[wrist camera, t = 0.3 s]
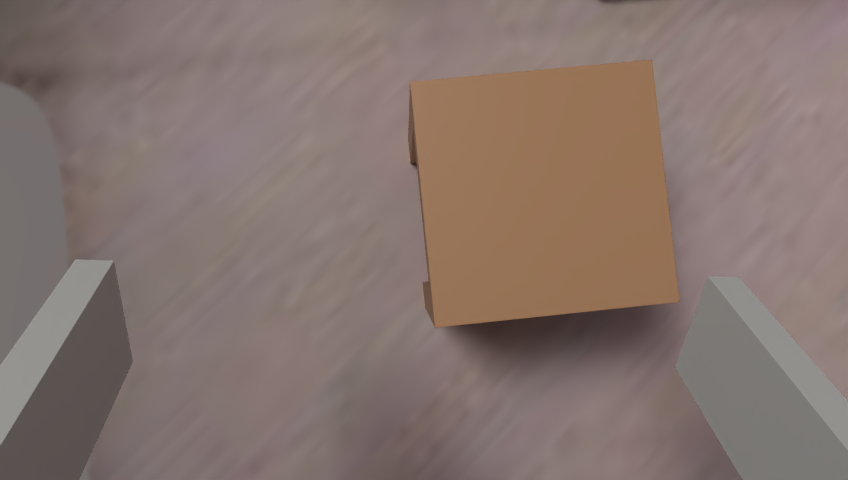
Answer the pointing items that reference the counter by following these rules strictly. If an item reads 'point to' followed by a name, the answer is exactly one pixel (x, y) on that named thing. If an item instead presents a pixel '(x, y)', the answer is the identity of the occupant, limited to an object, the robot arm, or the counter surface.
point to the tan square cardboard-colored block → (542, 193)
